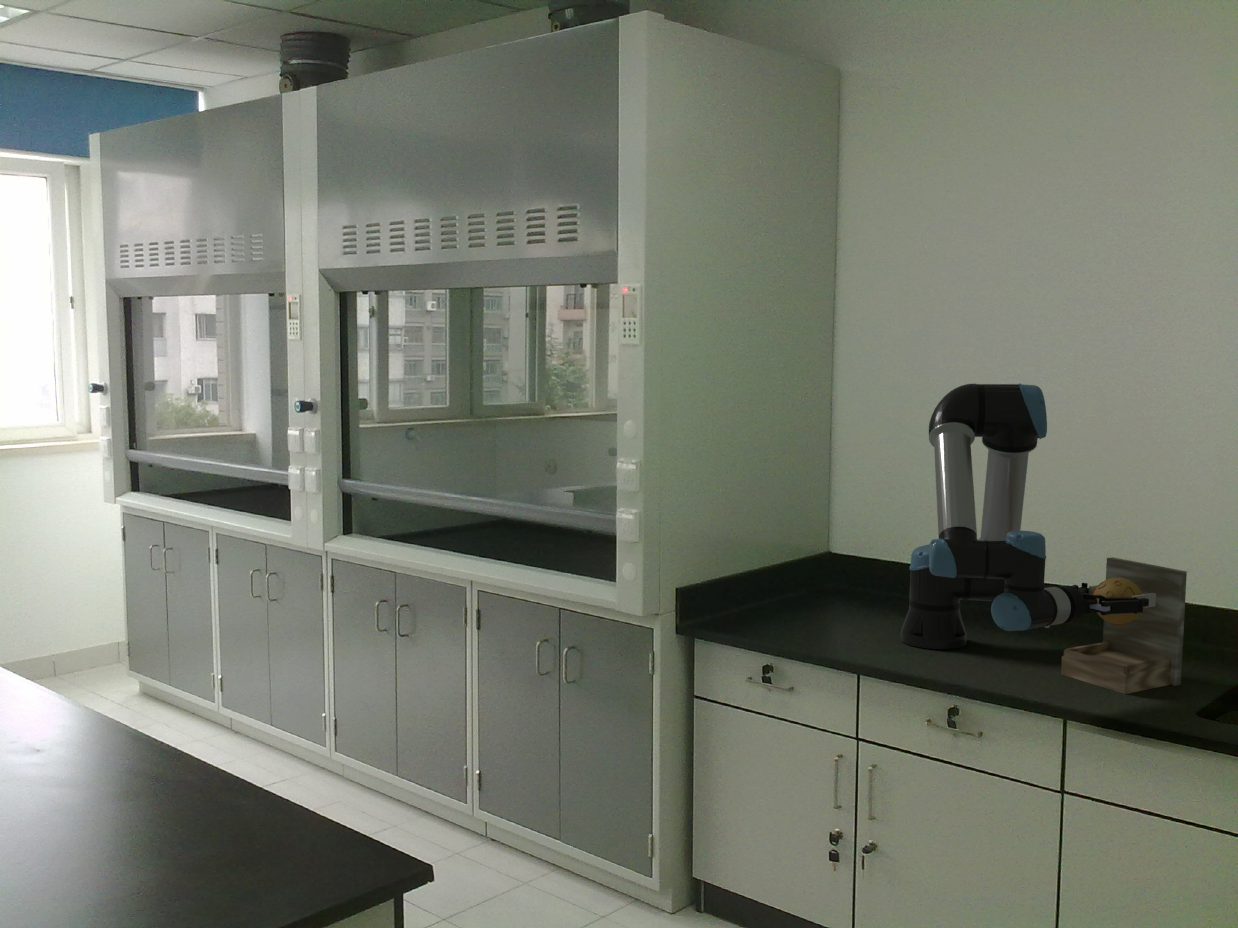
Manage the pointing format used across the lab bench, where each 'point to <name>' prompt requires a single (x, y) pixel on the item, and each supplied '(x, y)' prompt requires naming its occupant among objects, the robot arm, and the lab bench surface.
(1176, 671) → the ledge stand
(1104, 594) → the stress ball
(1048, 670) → the lab bench surface
